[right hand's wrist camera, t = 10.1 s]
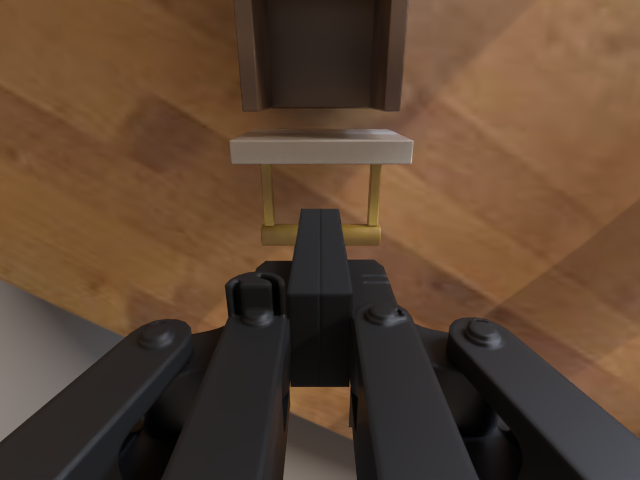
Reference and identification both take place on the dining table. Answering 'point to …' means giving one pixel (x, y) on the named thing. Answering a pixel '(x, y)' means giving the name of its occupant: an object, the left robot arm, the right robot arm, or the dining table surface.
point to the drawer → (321, 92)
